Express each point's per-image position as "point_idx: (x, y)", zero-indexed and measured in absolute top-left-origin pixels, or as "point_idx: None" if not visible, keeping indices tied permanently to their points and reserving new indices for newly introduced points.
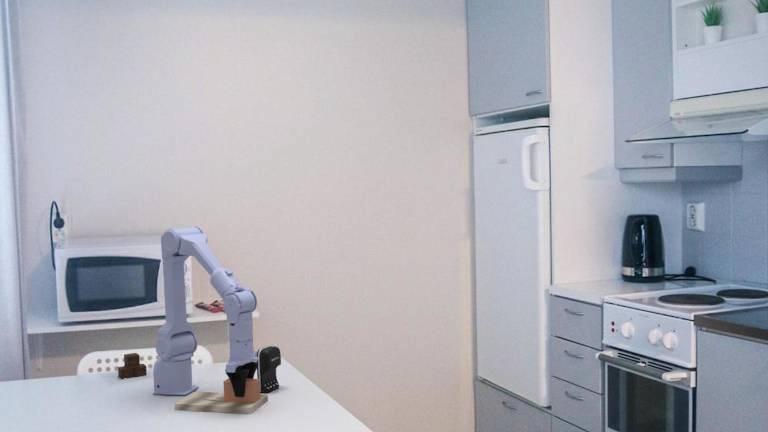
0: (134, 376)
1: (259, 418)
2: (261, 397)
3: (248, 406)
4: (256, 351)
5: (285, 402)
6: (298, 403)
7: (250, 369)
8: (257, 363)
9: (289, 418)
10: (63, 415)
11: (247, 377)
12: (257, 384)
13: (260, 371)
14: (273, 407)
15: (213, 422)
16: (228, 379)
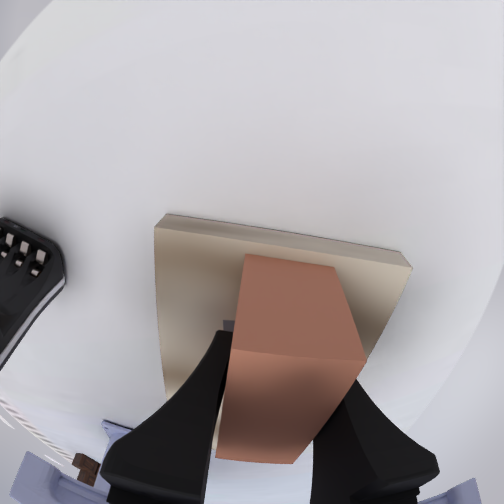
0: (97, 463)
1: (464, 201)
2: (213, 252)
3: (391, 283)
4: (15, 498)
5: (191, 101)
6: (212, 22)
7: (207, 463)
8: (149, 483)
9: (474, 64)
10: (304, 495)
11: (215, 416)
12: (289, 329)
13: (11, 335)
14: (298, 151)
15: (447, 346)
16: (252, 459)
